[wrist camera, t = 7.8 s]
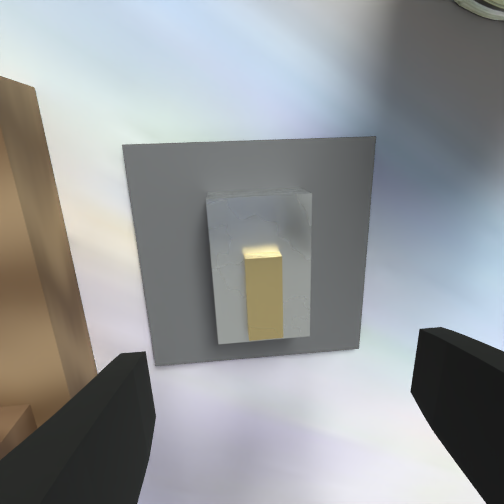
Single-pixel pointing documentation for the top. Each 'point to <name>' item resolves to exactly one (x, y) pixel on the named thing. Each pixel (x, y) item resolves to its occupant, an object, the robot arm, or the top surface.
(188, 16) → the top surface
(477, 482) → the robot arm
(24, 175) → the board with knob
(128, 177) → the gray switch plate
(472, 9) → the coffee can
